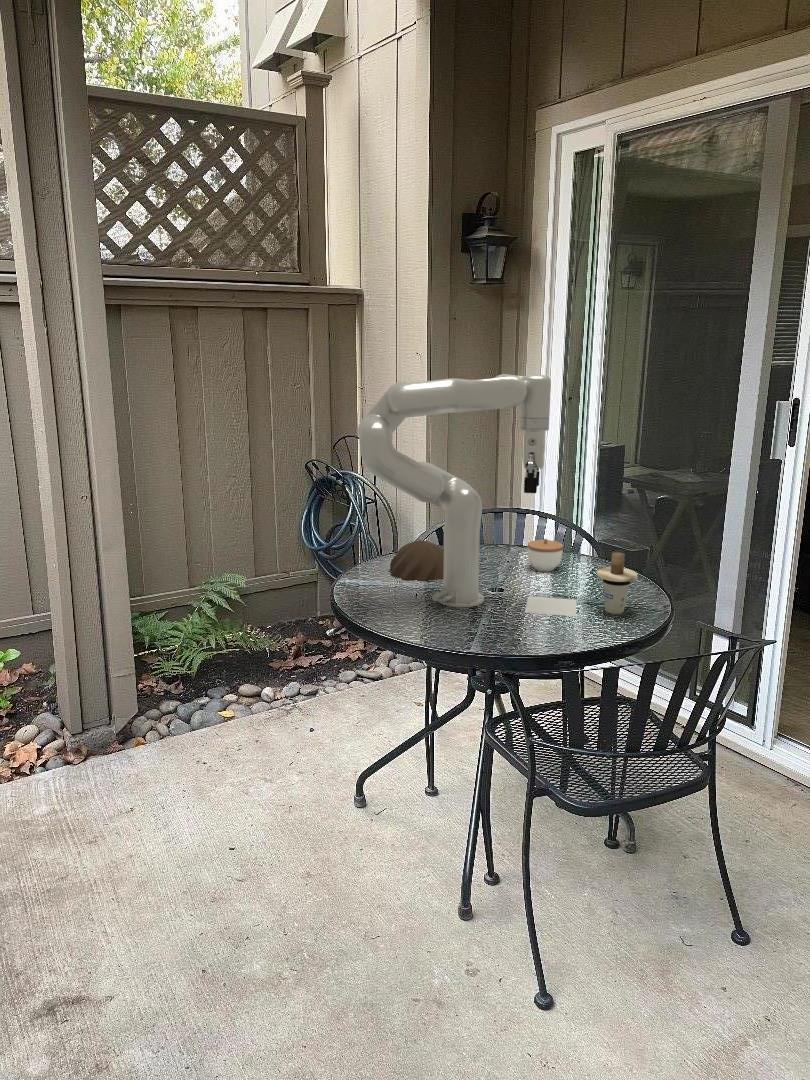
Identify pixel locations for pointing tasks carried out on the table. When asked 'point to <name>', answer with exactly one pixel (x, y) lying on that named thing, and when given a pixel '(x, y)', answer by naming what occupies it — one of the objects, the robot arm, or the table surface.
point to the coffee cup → (615, 596)
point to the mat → (551, 606)
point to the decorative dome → (418, 562)
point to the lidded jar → (545, 554)
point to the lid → (617, 570)
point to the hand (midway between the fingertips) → (531, 489)
